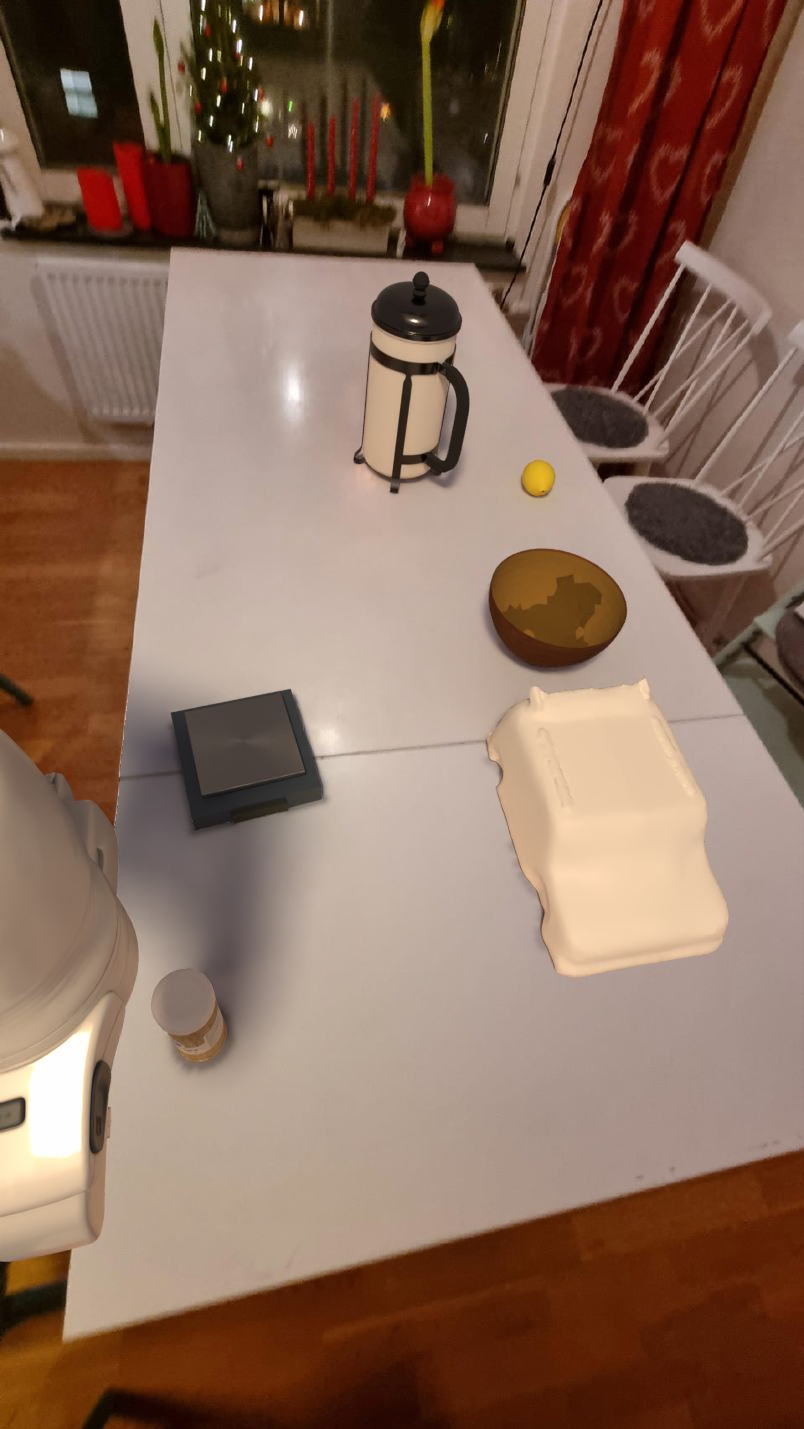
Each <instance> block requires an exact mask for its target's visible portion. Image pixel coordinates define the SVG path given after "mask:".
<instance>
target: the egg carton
mask: <svg viewBox="0 0 804 1429" xmlns="http://www.w3.org/2000/svg"><path fill="white" fill-rule="evenodd" d="M528 695H529V698H526V699H523V700H521V701H519V702H517V703H516V704H514V705H512V706H511V707H510V708H509V709H508V710H507V712H506V713H505V715H504V716H503V717H502V719H500V721H499V723H498V724H497V726H495V728H494V729H493V730H491V731H490V732H489V733H488V735H487V737H486V744H487V751H488V758H489V759H490V760H491V761H493V762H495V763H496V764H498V765H499V766H500V768H502V778H501V781H500V782H499V783H498V786H497V787H496V788H497V789H496V791H497V794H498V797H499V801H500V804H501V807H502V811H503V813H504V815H505V818H506V822H507V825H508V830H509V834H510V836H511V840H512V843H513V846H514V850H515V853H516V857H517V858H518V863H519V866H520V869H521V872H522V874H523V875H524V876H525V877H526V879H527V880H528V881H529V883H530V884H531V886H532V887H533V888H534V889H535V890H536V891H537V893H538V896H539V900H540V904H541V906H542V908H543V910H544V916H543V920H542V924H541V937H542V939H543V942H544V944H545V946H546V948H547V950H548V952H549V955H550V958H551V961H552V964H553V966H554V968H555V972H556V973H557V974H559V975H562V976H565V977H569V978H575V979H577V978H583V977H588V976H593V975H597V974H601V973H602V974H603V973H607V972H612V971H616V970H623V969H626V968H631V967H638V966H643V965H651V964H656V963H663V962H668V961H673V960H678V959H685V958H691V957H698V956H704V955H708V954H711V953H713V952H715V951H716V950H717V949H718V948H719V947H720V946H721V945H722V943H723V940H724V934H725V932H726V931H727V927H728V924H729V921H730V915H729V908H728V905H727V900H726V899H725V897H724V894H723V892H722V890H721V887H720V885H719V883H718V881H717V878H716V877H715V874H714V872H713V869H712V867H711V865H710V861H709V857H708V856H707V852H706V847H705V834H706V830H707V825H708V820H709V814H708V813H709V810H708V803H707V798H706V797H705V794H704V792H703V790H702V789H701V787H700V785H699V783H698V781H697V780H696V777H695V774H694V773H693V771H692V769H691V767H690V765H689V764H688V761H687V759H686V757H685V755H684V753H683V752H682V749H681V747H680V745H679V741H678V740H677V738H676V736H675V734H674V731H673V729H672V727H671V726H670V724H669V722H668V720H667V718H666V716H665V714H664V712H663V711H662V708H660V706H659V704H658V703H657V700H656V699H655V698H654V697H653V695H651V693H650V687H649V684H648V681H647V678H646V677H645V676H642V677H640V678H639V679H638V682H635V683H632V684H624V683H621V684H619V685H614V686H606V687H600V688H595V687H586V688H585V687H584V688H577V689H571V690H567V689H565V690H561V691H556V692H555V691H554V692H547V691H542V689H540V688H539V687H538V686H536V685H535V686H531V687H529V690H528Z"/></svg>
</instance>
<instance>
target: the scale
mask: <svg viewBox="0 0 804 1429" xmlns="http://www.w3.org/2000/svg"><path fill="white" fill-rule="evenodd" d="M279 693H281V694H282V698H283V701H284V704H285V707H286V711H287V714H288V717H289V720H290V723H291V727H292V730H293V733H294V736H295V740H296V743H297V746H298V749H299V753H300V756H301V759H302V762H303V766H304V769H305V774H304V775H300V776H296V777H291V778H287V779H283V780H279V781H274V782H270V783H266V784H261V785H257V786H253V787H249V788H244V789H240V790H236V791H232V792H227V793H223V794H219V795H214V796H210V797H206V798H202V794H201V789H200V784H199V780H198V775H197V770H196V765H195V760H194V756H193V751H192V746H191V741H190V737H189V732H188V727H187V722H186V718H185V712H188V711H193V710H198V709H203V708H208V707H214V706H219V705H224V704H229V703H234V702H239V701H244V700H249V699H254V698H259V697H264V696H269V695H274V694H279ZM170 718H171V722H172V726H173V731H174V737H175V742H176V747H177V753H178V757H179V761H180V767H181V774H182V778H183V783H184V788H185V793H186V798H187V804H188V809H189V814H190V818H191V822H192V825H193V829H194V831H200V830H204V829H208V828H212V827H216V826H220V825H224V824H228V823H232V824H233V825H235V824H239V823H244V822H247V821H251V820H254V819H255V820H256V819H259V818H262V817H263V818H264V817H267V816H272V815H275V814H279V813H283V812H287V811H288V810H289V808H294V807H297V806H300V805H305V804H308V803H313V802H317V801H321V800H322V796H323V785H322V781H321V779H320V776H319V772H318V770H317V766H316V762H315V760H314V757H313V754H312V751H311V747H310V744H309V741H308V738H307V735H306V732H305V728H304V726H303V723H302V720H301V716H300V713H299V710H298V707H297V703H296V700H295V698H294V694H293V691H292V688H287V689H282V690H276V691H272V692H267V693H262V694H257V695H252V696H247V697H241V698H237V699H232V700H231V699H230V700H226V701H222V702H215V703H211V704H210V703H209V704H206V705H200V706H196V707H190V708H186V709H181V710H176V711H170Z"/></svg>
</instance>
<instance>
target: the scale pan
mask: <svg viewBox="0 0 804 1429" xmlns="http://www.w3.org/2000/svg"><path fill="white" fill-rule="evenodd" d="M185 718H186V722H187V727H188V732H189V737H190V741H191V746H192V751H193V756H194V760H195V765H196V770H197V775H198V780H199V784H200V789H201V794H202V798H206V797H210V796H214V795H219V794H223V793H227V792H232V791H236V790H240V789H244V788H249V787H253V786H257V785H261V784H266V783H270V782H274V781H279V780H283V779H287V778H291V777H296V776H300V775H304V774H305V769H304V766H303V762H302V759H301V756H300V753H299V749H298V746H297V743H296V740H295V736H294V733H293V730H292V727H291V723H290V720H289V717H288V714H287V711H286V707H285V704H284V701H283V698H282V694H281V693H279V694H274V695H269V696H264V697H259V698H254V699H249V700H244V701H239V702H234V703H229V704H224V705H219V706H214V707H208V708H203V709H198V710H193V711H188V712H185Z"/></svg>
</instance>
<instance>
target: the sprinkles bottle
mask: <svg viewBox="0 0 804 1429" xmlns="http://www.w3.org/2000/svg"><path fill="white" fill-rule="evenodd" d="M150 1009H151V1013H152V1016H153V1019H154V1020H155V1022H156V1024H157V1025H158V1026H159V1027H160V1028H161V1029H162V1030H163V1031H164V1032H166V1033H167V1034H168V1036H169V1038H170V1039H171V1040H172V1042H173V1044H174V1046H175V1047H176V1049H177V1051H178V1053H179V1054H180V1056H181V1057H182V1058H184V1059H185V1060H187V1061H189V1062H192V1063H203V1062H207V1061H209V1060H211V1059H212V1058H214V1057H216V1056H217V1054H219V1052H220V1051H222V1049H223V1048H224V1045H225V1043H226V1040H227V1036H228V1035H227V1034H228V1028H227V1027H228V1026H227V1023H226V1021H225V1019H224V1017H223V1015H222V1012H221V1009H220V1007H219V1004H218V1002H217V1000H216V993H215V991H214V988H213V985H212V983H211V981H210V979H209V978H208V977H207V976H206V975H205V974H204V973H203V972H201V971H199V970H196V969H194V968H179V969H175V970H173V971H171V972H170V973H168V974H166V975H165V976H163V977H162V978H161V980H160V981H159V982H158V983H157V985H156V986H155V988H154V990H153V992H152V995H151V1001H150Z"/></svg>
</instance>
